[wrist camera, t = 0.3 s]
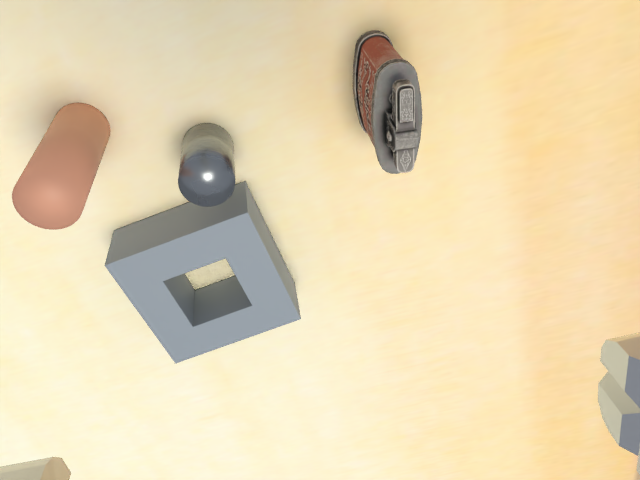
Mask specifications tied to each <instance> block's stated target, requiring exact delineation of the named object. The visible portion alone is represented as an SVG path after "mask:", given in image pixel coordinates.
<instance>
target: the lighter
mask: <svg viewBox="0 0 640 480" xmlns="http://www.w3.org/2000/svg"><path fill="white" fill-rule="evenodd" d="M353 93H354V101H355V107H356V111H357V115H358V119H359V122H360V124H361V127H362V128H363V130H364V131H365V132H366V133H367V134H368V135H369V137H370V139H371V141H372V143H373V145H374V147H375V150H376V154H377V158H378V161H379V163H380V165H381V167H382V169H383V170H385V171H386V172H389V173H392V174H398V173H406V172H410V171H411V170H413V168H414V163H415V160H416V157H417V152H418V147H419V143H420V136H421V125H422V106H421V93H420V88H419V82H418V77H417V73H416V71H415V68H414V67H413V66H412V65H411V64H410V63H409V62H408V61H406V60H403V59H402V58H401V56H400V55H399V54H398V53H397V51H396V50H395V49H394V48H393V45H392V42H391V40H390V39H389V38H388V36H387V35H385V34H384V33H383V32H380V31H369V32H366V33H365V34H363V35H361V37H360V38H359V39H358V40H357V43H356V48H355V55H354V62H353Z"/></svg>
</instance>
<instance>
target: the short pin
mask: <svg viewBox="0 0 640 480" xmlns="http://www.w3.org/2000/svg"><path fill="white" fill-rule="evenodd" d="M178 185H179V189H180V191H181V193H182V194H183V196H184V197H185V198H186V199H187V200H188V201H190V202H191V203H193V204H195V205H198V206H203V207H212V206H217V205H220V204H222V203H224V202H225V201H226V200H228V199H229V198H230V196H231V195H232V193H233V191H234V188H235V167H234V146H233V141H232V138H231V136H230V134H229V133H228V132H227V131H226V130H225V129H224V128H222V127H221V126H218V125H216V124H212V123H202V124H198V125H196V126H194V127H192V128H191V129H190V130H189V131H188V132H187V133H186V134H185V136H184V139H183V143H182V152H181V161H180V169H179V178H178Z"/></svg>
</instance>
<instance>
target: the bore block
mask: <svg viewBox="0 0 640 480" xmlns="http://www.w3.org/2000/svg"><path fill="white" fill-rule="evenodd" d="M225 258H226V259H227V261H228V263H229V265H230V266H231V268H232V270H233V272H234V274H235V275H236V276H233V277H230V278H228V279H225V280H222V281H219V282H217V283H214V284H211V285H208V286H206V287H203V288H200V289H197V290H194V288H193V287H192V285H191V283H190V282H189V280H188V279H187V277H186V275H185V274H184V273H187V272H189V271H192V270H195V269H198V268H200V267H203V266H206V265H209V264H211V263H214V262H217V261H219V260H222V259H225ZM105 267H106V268H107V269H108V271H109V272H110V273H111V275H112V276H113V278H114V279H115V280H116V282H117V283H118V284H119V286H120V287H121V289H122V290H123V291H124V293H125V294H126V296H127V297H128V298H129V300H130V301H131V302H132V304H133V305H134V307H135V308H136V309H137V311H138V312H139V314H140V315H141V316H142V318H143V319H144V320H145V322H146V323H147V325H148V326H149V327H150V329H151V330H152V331H153V333H154V334H155V336H156V337H157V338H158V340H159V341H160V343H161V344H162V345H163V347H164V348H165V349H166V351H167V352H168V354H169V355H170V356H171V358H172V359H173V360H174V362H175V363H178V362H181V361H184V360H187V359H189V358H192V357H195V356H198V355H201V354H203V353H206V352H209V351H212V350H215V349H218V348H220V347H223V346H226V345H229V344H232V343H234V342H237V341H240V340H243V339H246V338H249V337H251V336H254V335H257V334H260V333H263V332H265V331H268V330H271V329H274V328H277V327H280V326H282V325H285V324H288V323H291V322H294V321H296V320H299V319H301V317H300V311H299V305H298V299H297V293H296V287H295V283H294V281H293V279H292V277H291V275H290V273H289V270H288V268H287V266H286V264H285V262H284V260H283V258H282V256H281V254H280V252H279V250H278V248H277V246H276V244H275V241H274V239H273V237H272V235H271V233H270V231H269V229H268V227H267V225H266V223H265V221H264V219H263V217H262V215H261V212H260V210H259V208H258V206H257V204H256V202H255V200H254V198H253V196H252V194H251V192H250V190H249V188H248V186H247V183H246V181H244V182H241V183H239V184H236V185H235V188H234V191H233V193H232V195H231V196H230V198H229V199H228V200H226V201H225V202H224V203H222V204H220V205H217V206H212V207H203V206H198V205H195V204H193V203H191V202H188V203H186V204H183V205H180V206H178V207H175V208H172V209H170V210H167V211H164V212H162V213H159V214H156V215H154V216H151V217H148V218H146V219H143V220H140V221H138V222H135V223H132V224H130V225H127V226H124V227H122V228H119V229H116V230H114V232H113V236H112V240H111V244H110V247H109V251H108V255H107V259H106V263H105Z"/></svg>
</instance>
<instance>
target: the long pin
mask: <svg viewBox="0 0 640 480" xmlns="http://www.w3.org/2000/svg"><path fill="white" fill-rule="evenodd" d="M109 136H110V126H109V123H108V121H107V119H106V117H105V116H104V115H103V114H102V113H101V112H100V111H99V110H98V109H96V108H95V107H93V106H91V105H88V104H84V103H72V104H68V105H66V106H64V107H63V108H61V109H60V110H59V111H58V113H57V114H56V116H55V118H54V119H53V121H52V123H51V125H50V126H49V128H48V130H47V132H46V133H45V135H44V137H43V138H42V140H41V142H40V144H39V145H38V147H37V149H36V150H35V152H34V154H33V156H32V157H31V159H30V161H29V162H28V164H27V166H26V168H25V169H24V171H23V173H22V174H21V176H20V178H19V180H18V181H17V183H16V185H15V187H14V189H13V193H12V200H13V204H14V207H15V209H16V210H17V212H18V213H19V214H20V215H21V217H23V218H24V219H25V220H26V221H28V222H29V223H31V224H33V225H35V226H37V227H40V228H44V229H62V228H66V227H68V226H70V225H72V224H74V223H75V222H76V221H77V220H78V219H79V217H80V216H81V214H82V211H83V209H84V206H85V203H86V200H87V197H88V195H89V192H90V189H91V186H92V184H93V181H94V178H95V175H96V173H97V170H98V167H99V164H100V162H101V159H102V156H103V153H104V151H105V148H106V145H107V142H108V140H109Z"/></svg>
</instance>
